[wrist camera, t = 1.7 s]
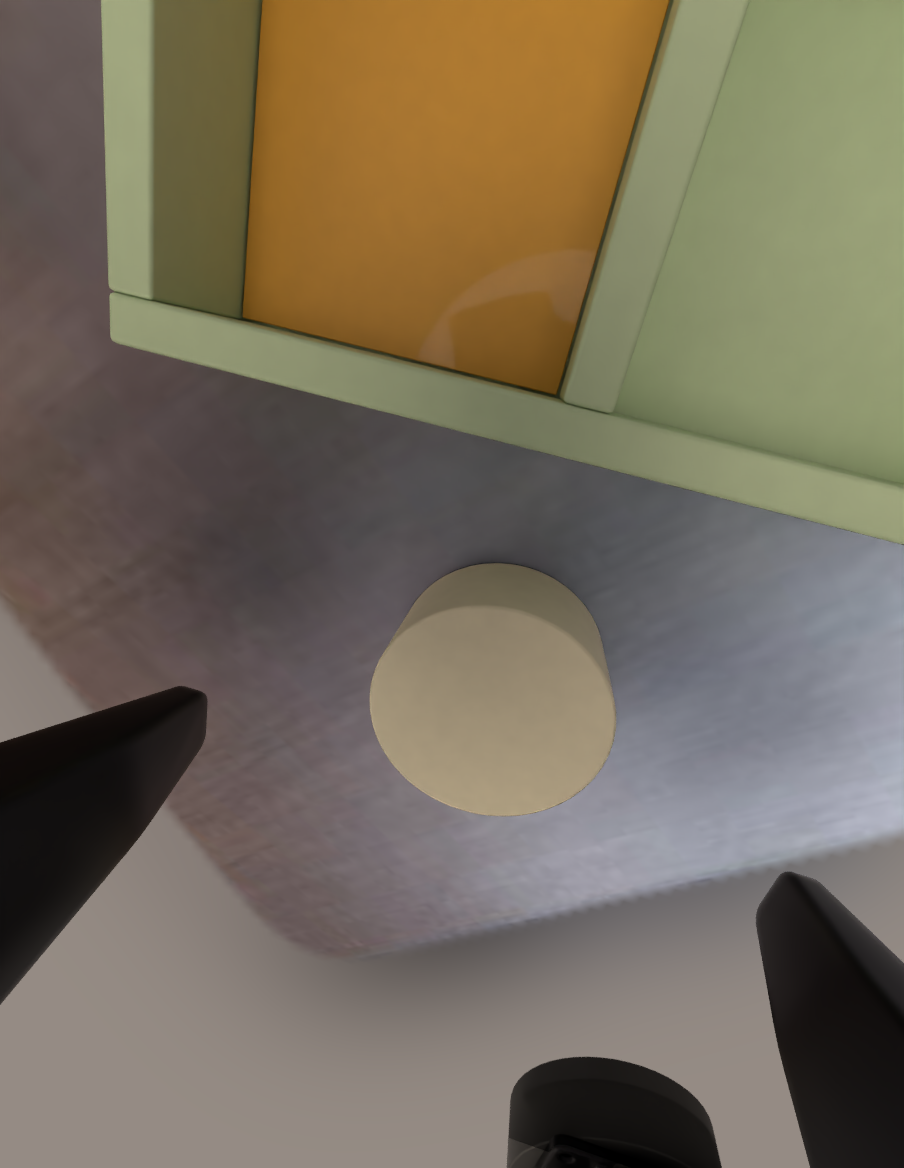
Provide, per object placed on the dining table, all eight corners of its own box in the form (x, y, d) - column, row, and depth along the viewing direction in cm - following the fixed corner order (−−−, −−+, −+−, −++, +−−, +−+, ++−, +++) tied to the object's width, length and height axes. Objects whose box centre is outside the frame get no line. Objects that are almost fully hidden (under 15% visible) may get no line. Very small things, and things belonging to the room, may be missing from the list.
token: (566, 765, 13) (570, 845, 10) (385, 710, 13) (352, 777, 11) (634, 595, 11) (656, 648, 9) (422, 537, 11) (392, 575, 9)
